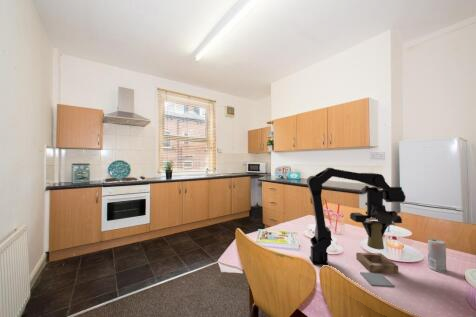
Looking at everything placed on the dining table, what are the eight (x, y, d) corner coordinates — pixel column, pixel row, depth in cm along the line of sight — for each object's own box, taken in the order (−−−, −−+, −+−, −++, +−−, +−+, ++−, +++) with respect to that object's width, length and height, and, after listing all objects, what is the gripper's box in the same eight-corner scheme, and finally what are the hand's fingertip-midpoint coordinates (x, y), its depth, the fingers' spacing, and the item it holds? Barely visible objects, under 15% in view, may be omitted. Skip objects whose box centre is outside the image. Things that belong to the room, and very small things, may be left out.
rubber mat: (371, 285, 72) (371, 284, 72) (360, 273, 80) (360, 272, 80) (394, 287, 71) (394, 285, 71) (380, 274, 79) (380, 272, 79)
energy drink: (441, 267, 84) (440, 239, 84) (449, 273, 79) (449, 244, 79) (425, 264, 85) (425, 237, 86) (433, 271, 80) (432, 242, 81)
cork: (387, 250, 81) (386, 223, 81) (371, 248, 82) (370, 223, 83) (379, 243, 87) (379, 219, 87) (364, 242, 88) (364, 218, 88)
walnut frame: (370, 272, 80) (370, 265, 80) (356, 258, 91) (356, 252, 91) (398, 273, 79) (398, 266, 79) (381, 259, 90) (381, 253, 90)
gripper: (362, 205, 78) (363, 244, 78) (412, 206, 76) (413, 246, 76) (349, 200, 89) (349, 234, 89) (392, 200, 87) (392, 235, 87)
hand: (375, 237), depth 85 cm, fingers closed on cork, 4 cm apart
